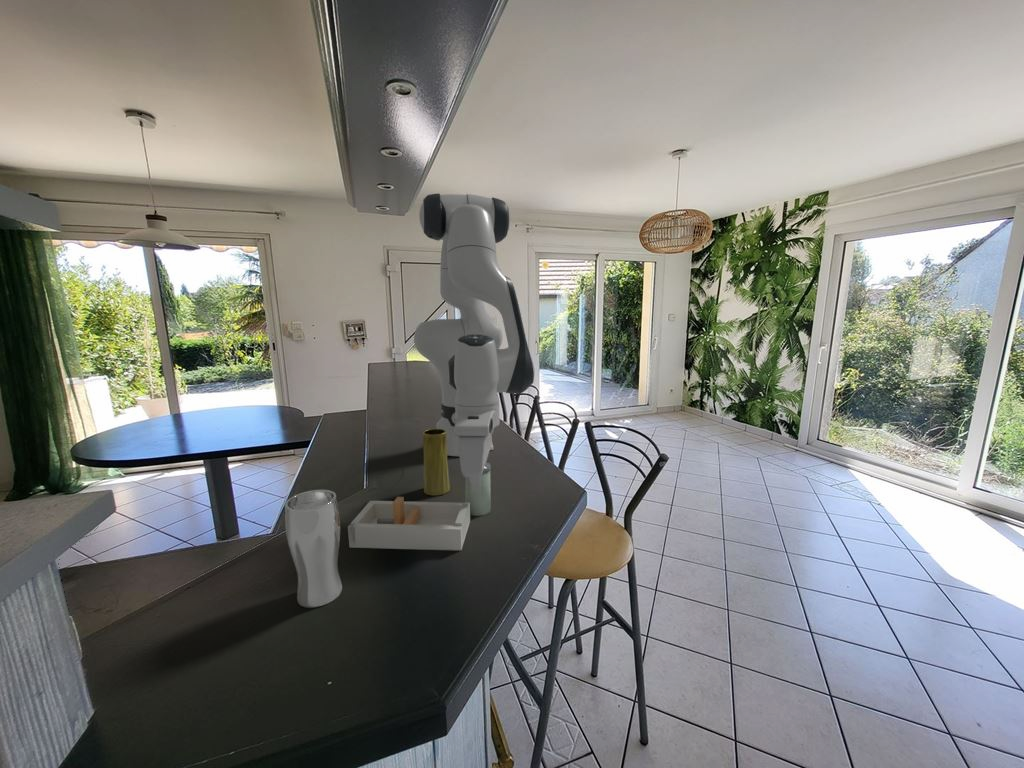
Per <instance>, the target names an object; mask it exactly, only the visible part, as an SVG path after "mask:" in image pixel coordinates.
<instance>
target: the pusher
mask: <svg viewBox="0 0 1024 768" xmlns="http://www.w3.org/2000/svg"><path fill="white" fill-rule="evenodd" d="M404 500H405V499H404V496H396V498H395V499H394V500H393V501H394V502H393V513H394V519H384V518H378V519H377V524H405V525H416V524H417V522H418V520H419V518H420V515H419V508H412V510H411V512H410V513H409V515H408V517H407V518H406V520H405V516H404Z"/></svg>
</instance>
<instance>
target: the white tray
mask: <svg viewBox="0 0 1024 768" xmlns="http://www.w3.org/2000/svg"><path fill="white" fill-rule="evenodd" d="M393 502H394V500H393V501H392V500H369V502H367V504H366V505H365V506H364V508H363V509H362V510H361V511H360V512H359V513H358V514H357V516H356V517H355V518H354V519H353V520H352V521H351V522H350V523H349V524H348V525H347V531H348V532H347V534H348V544H349V545H348V546H349V547H348V548H349V549H350V548H356V549H357V548H360V549H389V550H390V549H391V550H392V549H393V550H423V551H424V550H426V551H430V550H431V551H432V550H433V551H434V550H435V551H462V550H463V545H464V543H465V539H466V536H467V534H468V533H467V532H468V530H469V526H470V523H471V515H470V503H466V502H452V501H451V502H450V501H448V502H447V501H446V502H445V501H404V516H405V520H406V518H407V517H408V515H409V513H410V512H411V510H412V508H419V515H420V518H419V520H418V522H417V524H416V525H405V524H377V519H378V518H384V519H394V513H393Z"/></svg>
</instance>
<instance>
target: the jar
mask: <svg viewBox="0 0 1024 768" xmlns="http://www.w3.org/2000/svg"><path fill="white" fill-rule="evenodd" d="M491 466H492V465H491V463H490V462H486V463H485V467H484V470H483V473H482V476H481V477H480V481H481V490H480V492H478V493H477V492H472V491H471V483H470V480H469V477H464V479H465V480H464V481H465V483H464V484H465V503H470V516H475V517H480V516H485V515H487V514H489V513H490V512H491V510H492V501H491V500H492V499H491V497H492V496H491V495H492V494H491V491H492V490H491V487H492V486H491V469H492V467H491Z"/></svg>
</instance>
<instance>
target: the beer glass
mask: <svg viewBox="0 0 1024 768" xmlns="http://www.w3.org/2000/svg"><path fill="white" fill-rule="evenodd" d="M284 508H285V509H284V510H285V511H284V512H285V534H286V540H287V541H286V542H287V545H288V548H289V549H288V550H289V551H290V555H291V559H292V561H293V562H292V563H293V564H294V567H295V570H296V574H297V592H296V593H297V594H296V600H297V601H296V602H297V604H299V606H301V607H303V608H307V609H312V608H313V609H314V608H315V609H316V608H318V607H319V608H320V607H322V606H326V605H328V604H330V603H331V602H333V601H334V600H336V599H337V598H338V597H339V596H340V595H341V593H342V591H343V584H342V580H341V577H340V573H339V568H338V561H339V559H338V558H339V549H340V541H341V520H340V518H341V517H340V512H339V505H338V500H337V494H336V492H334V491H332V490H329V489H314V490H307V491H304V492H301V493H297V494H295V495H293V496H291V497H289V499H288V500H286V502H284Z"/></svg>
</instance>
